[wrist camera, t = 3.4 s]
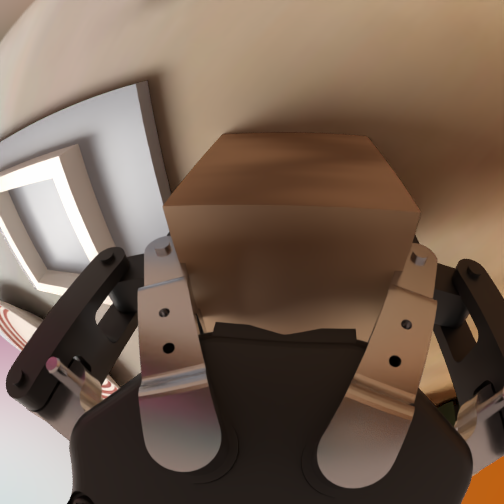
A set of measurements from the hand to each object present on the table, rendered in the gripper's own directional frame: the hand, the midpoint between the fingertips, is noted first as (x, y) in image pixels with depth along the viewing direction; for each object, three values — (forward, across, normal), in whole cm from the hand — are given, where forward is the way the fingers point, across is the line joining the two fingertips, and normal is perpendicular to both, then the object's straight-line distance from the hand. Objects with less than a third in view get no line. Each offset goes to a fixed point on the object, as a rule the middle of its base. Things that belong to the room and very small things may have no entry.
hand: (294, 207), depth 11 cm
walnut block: (+1, 0, 0) cm, 1 cm away
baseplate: (+1, +15, +1) cm, 15 cm away
